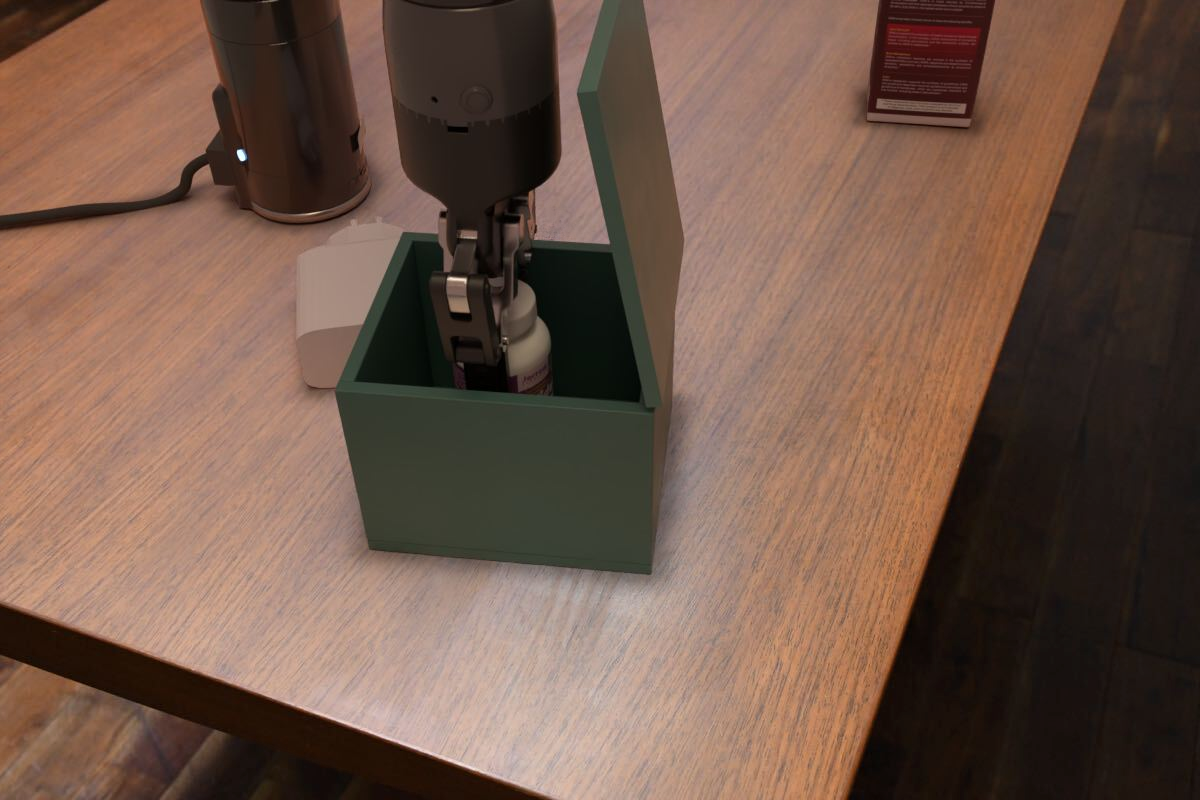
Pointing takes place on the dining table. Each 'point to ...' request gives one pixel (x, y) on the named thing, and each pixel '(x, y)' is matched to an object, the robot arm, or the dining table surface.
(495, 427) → the chest
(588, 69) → the lid
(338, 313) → the charger
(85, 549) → the dining table surface
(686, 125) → the dining table surface
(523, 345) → the pill bottle
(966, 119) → the supplement box
